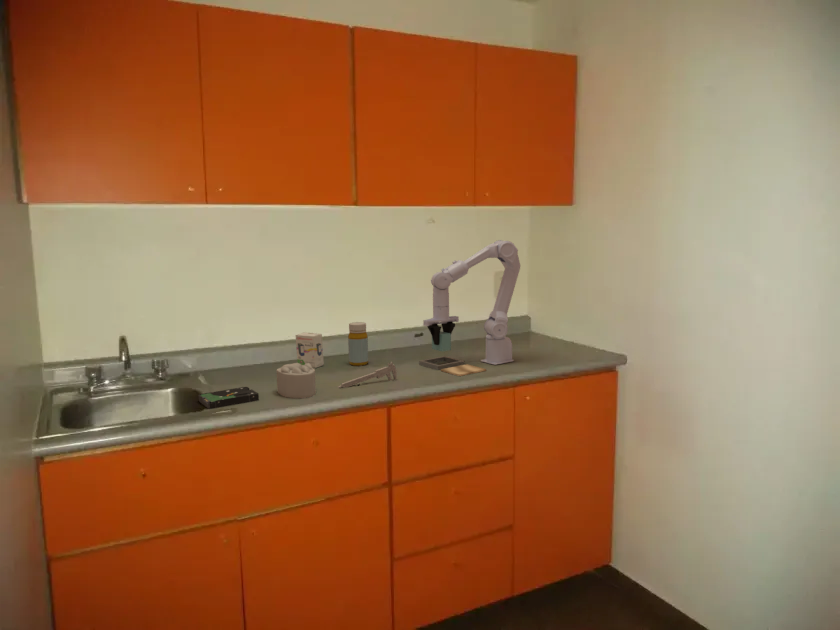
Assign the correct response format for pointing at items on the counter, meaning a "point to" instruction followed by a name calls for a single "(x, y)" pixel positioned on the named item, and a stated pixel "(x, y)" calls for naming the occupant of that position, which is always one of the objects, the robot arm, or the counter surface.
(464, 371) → the board
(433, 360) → the grey flat square frame
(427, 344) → the counter surface
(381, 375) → the caliper
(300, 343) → the ink box
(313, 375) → the cup of cotton balls
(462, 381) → the counter surface
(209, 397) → the disk drive
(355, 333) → the bottle
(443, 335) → the block
